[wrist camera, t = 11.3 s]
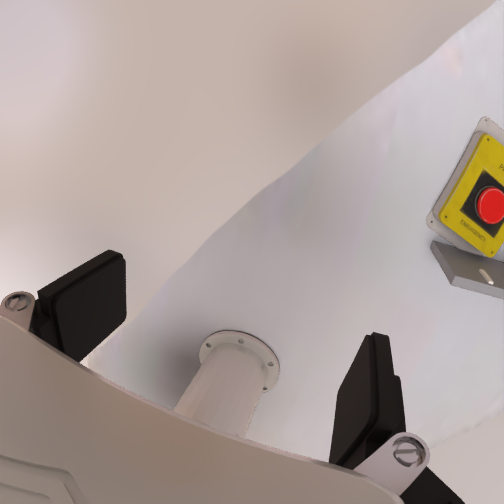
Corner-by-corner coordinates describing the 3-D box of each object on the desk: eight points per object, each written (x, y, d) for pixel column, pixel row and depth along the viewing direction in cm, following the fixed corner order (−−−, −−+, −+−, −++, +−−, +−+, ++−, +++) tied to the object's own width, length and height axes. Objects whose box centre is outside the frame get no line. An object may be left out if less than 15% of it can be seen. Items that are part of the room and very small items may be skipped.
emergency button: (430, 234, 28) (497, 112, 21) (421, 221, 32) (481, 112, 25) (488, 277, 27) (551, 166, 20) (475, 261, 31) (533, 161, 24)
